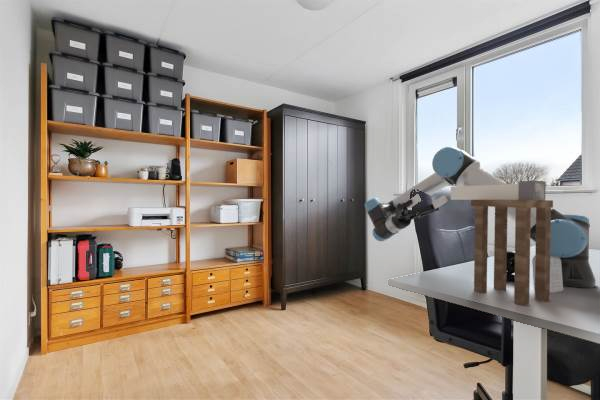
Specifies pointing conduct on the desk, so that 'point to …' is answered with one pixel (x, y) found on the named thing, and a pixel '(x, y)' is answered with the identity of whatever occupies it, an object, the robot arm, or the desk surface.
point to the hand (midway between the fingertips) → (432, 197)
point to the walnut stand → (520, 247)
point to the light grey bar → (501, 191)
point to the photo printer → (552, 274)
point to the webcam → (510, 266)
